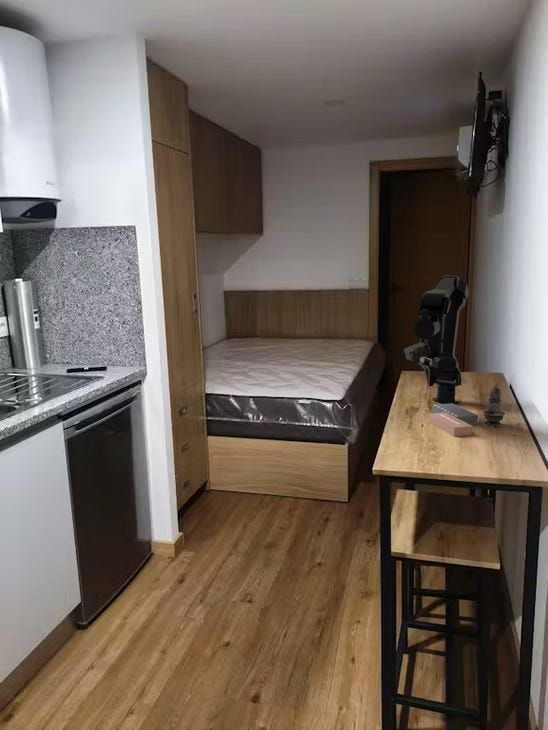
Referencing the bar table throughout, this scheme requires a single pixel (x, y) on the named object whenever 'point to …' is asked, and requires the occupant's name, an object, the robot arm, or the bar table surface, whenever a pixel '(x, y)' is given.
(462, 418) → the grey flat block
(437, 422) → the pink block
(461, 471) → the bar table surface
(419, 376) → the bar table surface
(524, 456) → the bar table surface
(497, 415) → the dark grey tiered figure
